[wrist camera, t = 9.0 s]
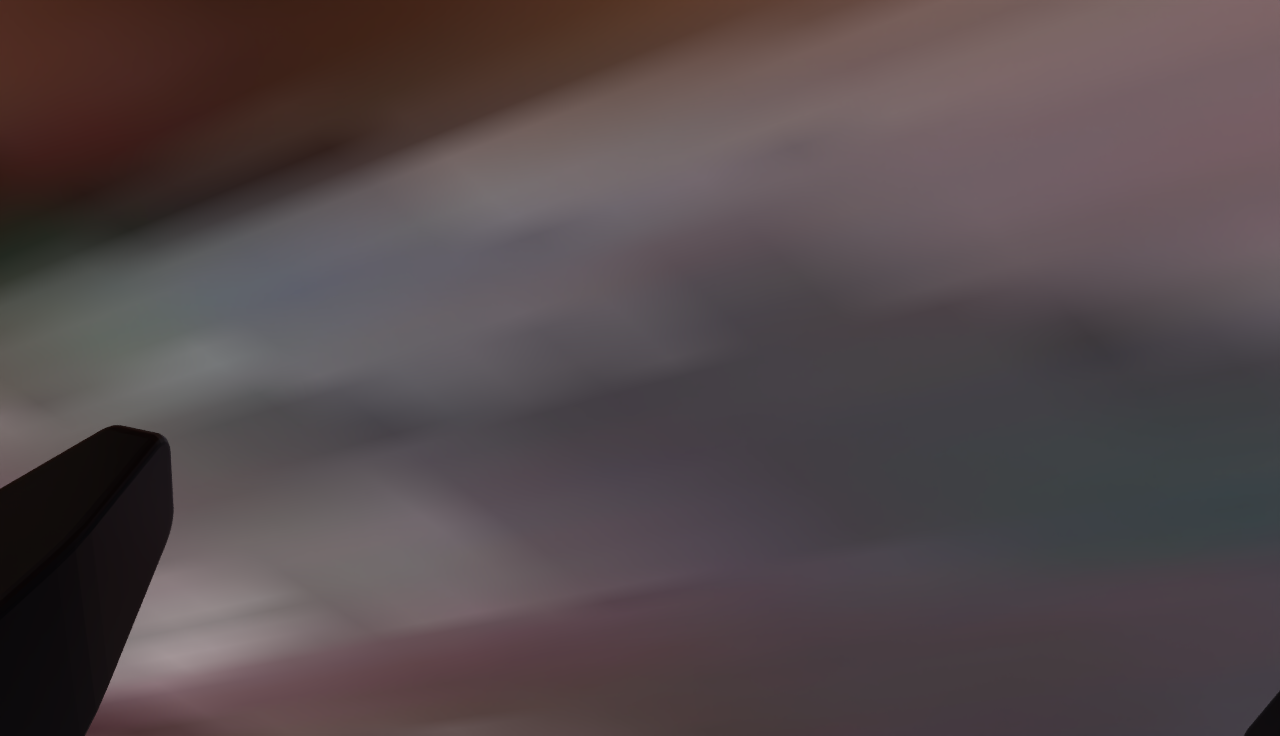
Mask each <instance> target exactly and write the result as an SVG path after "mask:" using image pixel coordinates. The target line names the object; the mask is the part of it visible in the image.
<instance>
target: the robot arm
mask: <svg viewBox="0 0 1280 736" xmlns="http://www.w3.org/2000/svg"><path fill="white" fill-rule="evenodd" d="M173 513H174V507H173V488H172V470H171V452H170V446H169V443H168V441H167V439H166V438H165V437H164V436H163V435H161V434H159V433H155V432H150V431H145V430H141V429H136V428H131V427H126V426H121V425H113V426H110V427H107V428H104V429H102V430H100V431H99V432H97V433H95V434H94V435H92V436H90V437H88V438H87V439H85V440H83V441H82V442H80V443H78V444H76V445H75V446H73V447H71V448H70V449H68V450H66V451H64V452H63V453H61V454H59V455H57V456H56V457H54V458H52V459H51V460H49V461H47V462H45V463H44V464H42V465H40V466H39V467H37V468H35V469H33V470H32V471H30V472H28V473H27V474H25V475H23V476H21V477H20V478H18V479H16V480H14V481H13V482H11V483H9V484H8V485H6V486H4V487H2V488H1V489H0V736H85V734H86V733H87V731H88V729H89V727H90V725H91V723H92V721H93V719H94V717H95V715H96V713H97V711H98V708H99V706H100V704H101V701H102V699H103V697H104V695H105V692H106V690H107V688H108V685H109V683H110V680H111V678H112V676H113V673H114V671H115V668H116V666H117V663H118V661H119V658H120V656H121V653H122V651H123V648H124V646H125V644H126V641H127V639H128V636H129V634H130V631H131V629H132V626H133V624H134V621H135V619H136V616H137V614H138V612H139V609H140V607H141V604H142V602H143V599H144V597H145V594H146V592H147V589H148V587H149V585H150V582H151V580H152V577H153V575H154V572H155V570H156V567H157V565H158V562H159V560H160V557H161V555H162V553H163V550H164V548H165V545H166V543H167V540H168V537H169V534H170V530H171V526H172V521H173ZM1244 736H1280V691H1279V692H1278V694H1277V695H1276V696H1275V697H1274V698H1273V700H1272V701H1271V702H1270V703H1269V704H1268V706H1267V707H1266V708H1265V709H1264V710H1263V712H1262V713H1261V714H1260V715H1259V716H1258V717H1257V719H1256V720H1255V721H1254V722H1253V723H1252V725H1251V726H1250V727H1249V728H1248V730H1247V731H1246V733H1245V735H1244Z"/></svg>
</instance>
